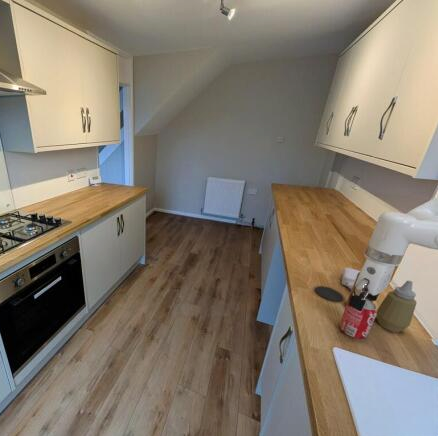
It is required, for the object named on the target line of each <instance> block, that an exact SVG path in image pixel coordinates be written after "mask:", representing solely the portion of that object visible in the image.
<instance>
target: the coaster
mask: <svg viewBox="0 0 438 436" xmlns="http://www.w3.org/2000/svg"><path fill="white" fill-rule="evenodd" d="M315 293H316V294H317V295H318V296H319V297H321V298H322V299H325V300H327V301H330V302H335V303H336V302H337V303H338V302H341V301H343V299H344V297H343V295H342V294H341V293H340V292H338V291H337V290H335V289H333V288H330V287H327V286H316V288H315Z"/></svg>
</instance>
